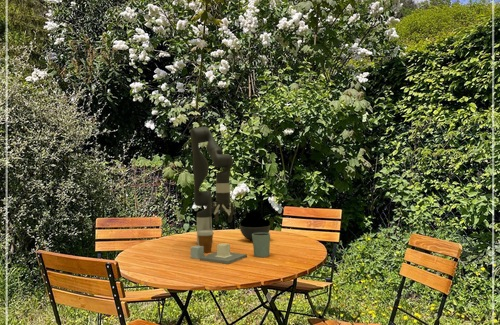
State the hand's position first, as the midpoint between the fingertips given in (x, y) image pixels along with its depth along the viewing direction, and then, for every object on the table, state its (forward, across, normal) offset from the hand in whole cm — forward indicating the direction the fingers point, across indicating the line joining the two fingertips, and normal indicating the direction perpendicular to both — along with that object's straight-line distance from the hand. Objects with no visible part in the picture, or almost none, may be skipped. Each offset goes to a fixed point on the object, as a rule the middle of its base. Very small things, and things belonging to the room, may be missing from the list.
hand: (223, 221), depth 232 cm
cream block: (+18, 0, 0) cm, 18 cm away
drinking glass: (+20, -14, -16) cm, 29 cm away
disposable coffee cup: (+20, +19, -9) cm, 29 cm away
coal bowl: (+20, +11, -51) cm, 56 cm away
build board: (+20, 0, 0) cm, 20 cm away
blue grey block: (+20, +14, +5) cm, 25 cm away
